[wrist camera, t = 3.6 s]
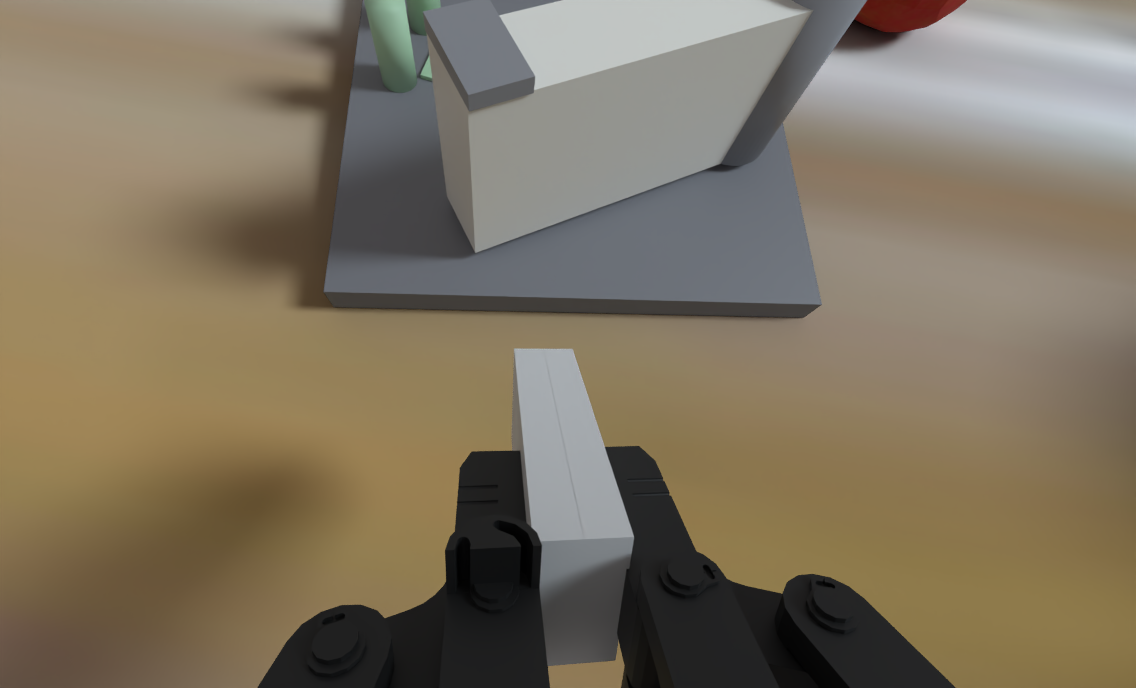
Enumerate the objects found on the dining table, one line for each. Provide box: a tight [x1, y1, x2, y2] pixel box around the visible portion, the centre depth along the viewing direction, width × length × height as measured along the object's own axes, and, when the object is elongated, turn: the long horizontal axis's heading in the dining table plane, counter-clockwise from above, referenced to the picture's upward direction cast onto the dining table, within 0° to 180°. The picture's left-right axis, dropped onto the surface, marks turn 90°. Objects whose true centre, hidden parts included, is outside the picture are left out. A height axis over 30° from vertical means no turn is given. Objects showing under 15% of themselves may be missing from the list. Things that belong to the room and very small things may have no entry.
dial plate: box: [324, 0, 822, 318], centre depth 25 cm, size 22×21×6 cm
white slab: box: [423, 0, 867, 253], centre depth 21 cm, size 16×4×9 cm, turn 117°
